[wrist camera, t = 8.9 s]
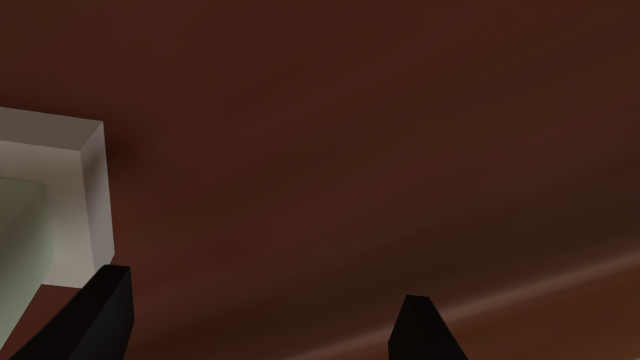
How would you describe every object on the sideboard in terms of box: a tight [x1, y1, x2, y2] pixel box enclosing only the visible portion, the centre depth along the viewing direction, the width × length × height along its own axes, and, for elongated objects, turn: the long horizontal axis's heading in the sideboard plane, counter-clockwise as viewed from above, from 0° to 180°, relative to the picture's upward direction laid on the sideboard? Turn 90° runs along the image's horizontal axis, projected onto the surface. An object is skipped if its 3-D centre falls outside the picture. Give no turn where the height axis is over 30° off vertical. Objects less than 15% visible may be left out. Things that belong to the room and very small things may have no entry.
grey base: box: [0, 107, 114, 288], centre depth 22 cm, size 8×8×3 cm
